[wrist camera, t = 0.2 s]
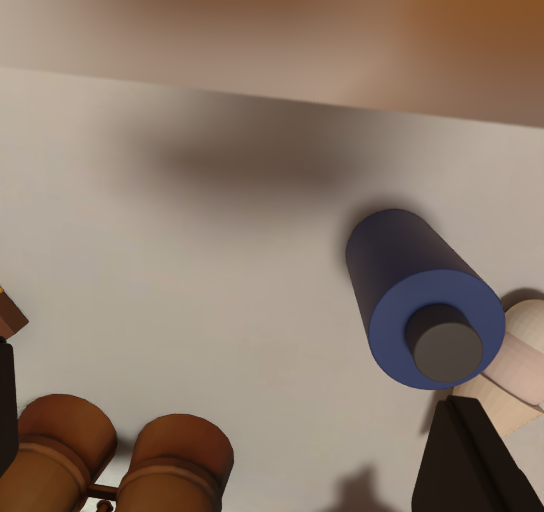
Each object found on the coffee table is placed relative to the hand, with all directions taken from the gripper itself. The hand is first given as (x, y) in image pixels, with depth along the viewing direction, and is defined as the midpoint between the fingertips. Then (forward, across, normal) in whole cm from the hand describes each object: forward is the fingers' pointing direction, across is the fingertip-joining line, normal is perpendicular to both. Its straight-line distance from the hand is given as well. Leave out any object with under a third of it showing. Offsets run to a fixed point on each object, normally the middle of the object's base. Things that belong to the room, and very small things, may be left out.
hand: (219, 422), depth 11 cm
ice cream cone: (+24, -17, +11) cm, 32 cm away
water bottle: (+24, -9, +3) cm, 26 cm away
